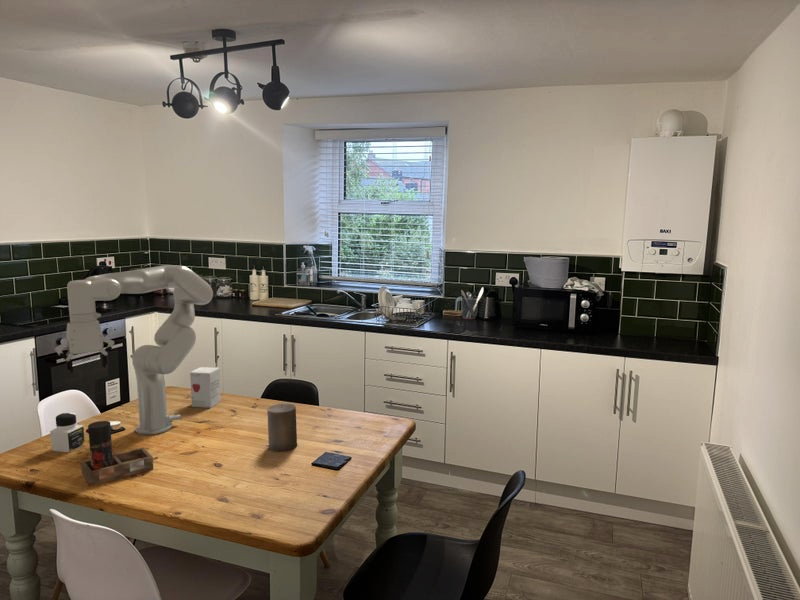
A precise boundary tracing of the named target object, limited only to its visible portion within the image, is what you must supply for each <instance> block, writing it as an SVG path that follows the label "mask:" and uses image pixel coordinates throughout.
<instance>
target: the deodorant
mask: <svg viewBox="0 0 800 600" xmlns="http://www.w3.org/2000/svg"><path fill="white" fill-rule="evenodd" d="M87 429H88V442H89V456H90V460H91V469H92V471H94V470H98V469H102V468H106V467H110V466H113V454H114V453H113V445H112V444H113V443H112V442H113V441H112V430H111V429H112V428H111V422H110V421H108V420H99V421H94V422H92V423H89V424H88V425H87Z"/></svg>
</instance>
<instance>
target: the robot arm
mask: <svg viewBox="0 0 800 600" xmlns="http://www.w3.org/2000/svg"><path fill="white" fill-rule="evenodd" d="M66 287H67V288H66V289H67V301H68V312H69V313H68V314H69V322H68V323H67V325H66V336H65V337H66V341H65V342H63V343H61V344H59V345H58V346H56V347H55V348H54V351H55V352H56V353H57V354H58V356H59V357H60V358H63V360H65V364H66V365H65V366H66V367H65V368H66V370H67V371H68V372H69V373H70V374H71V373H74V366H73V365H74V364H73V360H72V359H73V357H74V356H75V355H78V354H86V353H87V354H89V353H96V352H99V353H100V355H99V356H100V366H101V367H102V368H106V365H108V357H107V356H108V354H109V353H110V352H111V351H112V348H113V347H114V345H115V340H112V339H111V338H106V337H104V336H103V332H102V328H101V324H100V321H99V320H98V319H99V318H101V317H102V313H101V312H97V311H96V302H97V301H103V302H105V301H113V300H115V299H117V298H119V296H120V294H129V295H130V294H131V295H132V294H133V295H134V294H135V295H137V294H146V293H152V292H155V291H158V290H159V291H160V290H164V289H171V288H172V289H173V293H172V295H173V299H174V307H173V311H172V312H171V313H170V315H168V317H167V318H166V320H165V321H164V322H163V323H162V324H161V325H160V327H158V329H157V330H156V332H155V333H154V337H153V341H154V342H155V344H156V345H153V344H145V345H141V346H139V347H137V348H136V349H135V350H134V352H133V354H132V366H133V369H134V373H135V377H136V378H135V379H136V386H137V388H136V389H137V403H138V407H137V408H138V419H139V420H138V421H139V424H138V425H137V426H135V428H134V429H135V430H134V431H135V433H136V434H138V435H139V434H140V435H146V436H147V435H149V436H150V435H156V434H157V435H158V434H162V433H165V432H167V431H169V430H171V429H172V428H173V421H179V420H181V419H182V416H181V414H174V413H173V414H170V415H169V414H168V409H167V407H168V406H167V390H166V387H167V385H166V379H165V375H169V374H172V373H174V372H175V371H176V369H177V368H178V367H179V366H180V365H181V364H182V362H184V360H185V359H186V357H187V356H188V355H189V353H190V352H191V350H193V348H194V346H195V344H196V341H197V340H196V339H197V336H196V335H197V334H196V332H195V330H194V329H193V328H192V327H191V326H192V325H193V323H194V322H195V321H194V320H195V318H196V313H195V306H194V305H199V306H203V305H207V304H209V303H210V302H211V301H212V299H213V296H214V291H213V289H212V286H211V285H210V284H209V283H208V282H207V281H205V280H204V279H203V278H201V276H199V275H198V274H197V273H196V272H194V271H193V270H192V269H190V268H188V267H187V266H184V265H173V264H164V265H157V266H153V267H152V266H151V267H146V268H139V269H133V270H127V271H121V272H120V271H118V272H109V273H103V274H99V275H98V274H97V275H92V276H88V277H86V278H84V279H77V280H70V281H68V283H67V285H66ZM104 343H106V344H107V346H106V347H105V348H104ZM65 348H66V349H67V353H66V354H65V353H64V352H63V349H65Z"/></svg>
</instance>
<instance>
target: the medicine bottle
mask: <svg viewBox="0 0 800 600" xmlns="http://www.w3.org/2000/svg"><path fill="white" fill-rule="evenodd" d="M77 421H78V419H77V414H76V413H74V412H70V411H69V412H63V413H59V414H57V415H56V416H55V427H56V428H54V429H51V430H50V432H49V433H50V443H51V444H50V445H51V451H52V452H60V453H72V452H74V451H75V450H77V449H79V448H81V447H84V446H85V445H86V442H85V441H86V440H85V432H84V425H82V424H78V422H77Z"/></svg>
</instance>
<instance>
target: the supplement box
mask: <svg viewBox="0 0 800 600" xmlns="http://www.w3.org/2000/svg"><path fill="white" fill-rule="evenodd" d="M220 370H221V369H220V367H210V366H209V367H206V366H200V367H198V368H196V369H194V370H192V371H190V373H189V376H190V395H191V397H190V398H191V407H192V408H205V409H207V408H209V409H212V408H213V407H215V406H217V404H220V402H221V400H222V399H221V375H220V374H221V373H220Z"/></svg>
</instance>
